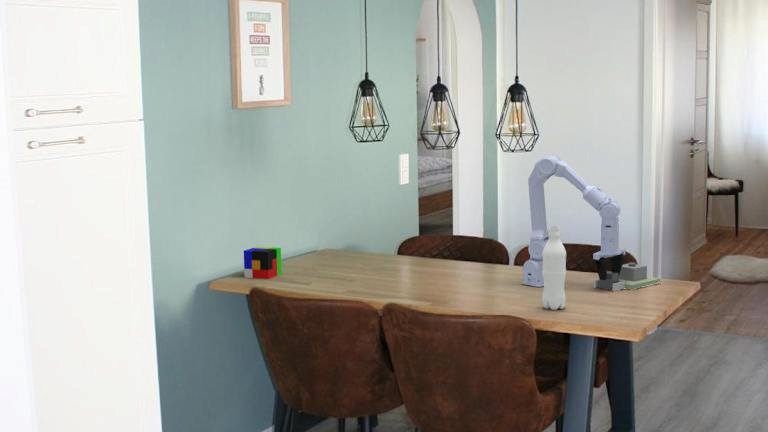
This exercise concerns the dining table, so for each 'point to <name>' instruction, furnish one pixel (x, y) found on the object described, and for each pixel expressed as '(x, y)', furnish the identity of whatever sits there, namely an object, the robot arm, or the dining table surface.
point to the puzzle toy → (262, 262)
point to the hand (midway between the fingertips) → (609, 278)
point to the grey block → (609, 280)
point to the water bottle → (554, 271)
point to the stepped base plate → (631, 277)
